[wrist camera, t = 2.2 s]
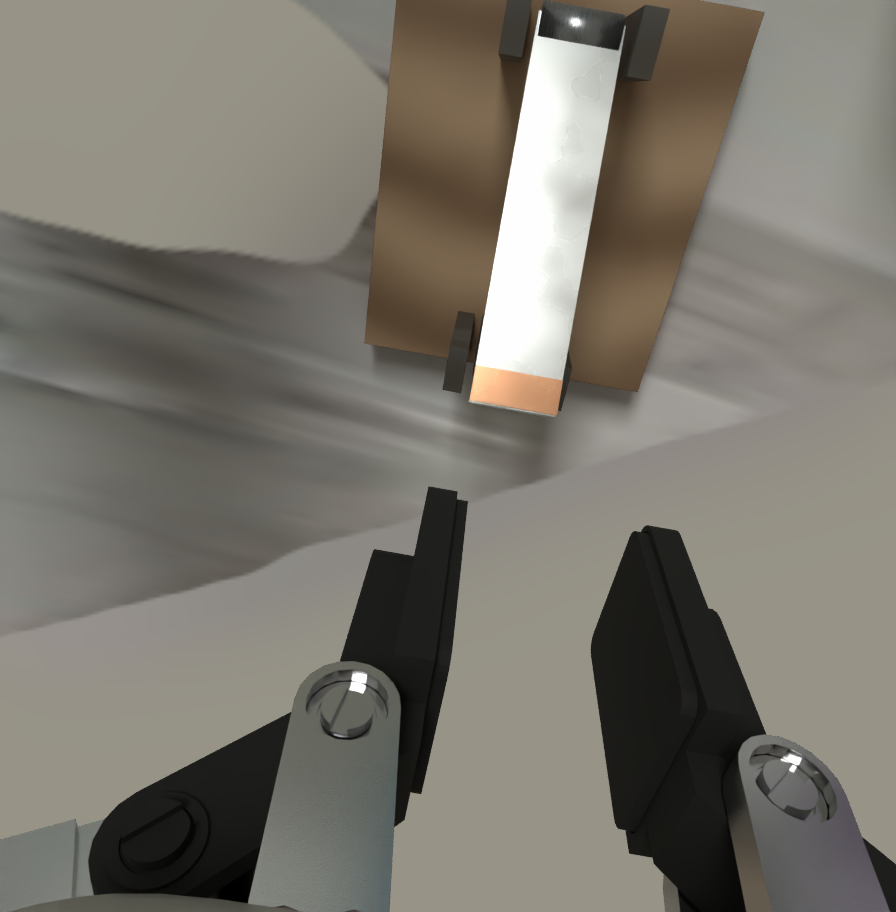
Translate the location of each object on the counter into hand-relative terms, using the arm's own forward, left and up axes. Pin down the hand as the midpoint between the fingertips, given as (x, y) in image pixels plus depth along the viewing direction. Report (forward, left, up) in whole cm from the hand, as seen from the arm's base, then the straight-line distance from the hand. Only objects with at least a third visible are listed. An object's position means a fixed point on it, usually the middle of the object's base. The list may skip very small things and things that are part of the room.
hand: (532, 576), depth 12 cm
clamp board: (-3, 0, -23) cm, 23 cm away
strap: (-4, 0, -15) cm, 16 cm away
